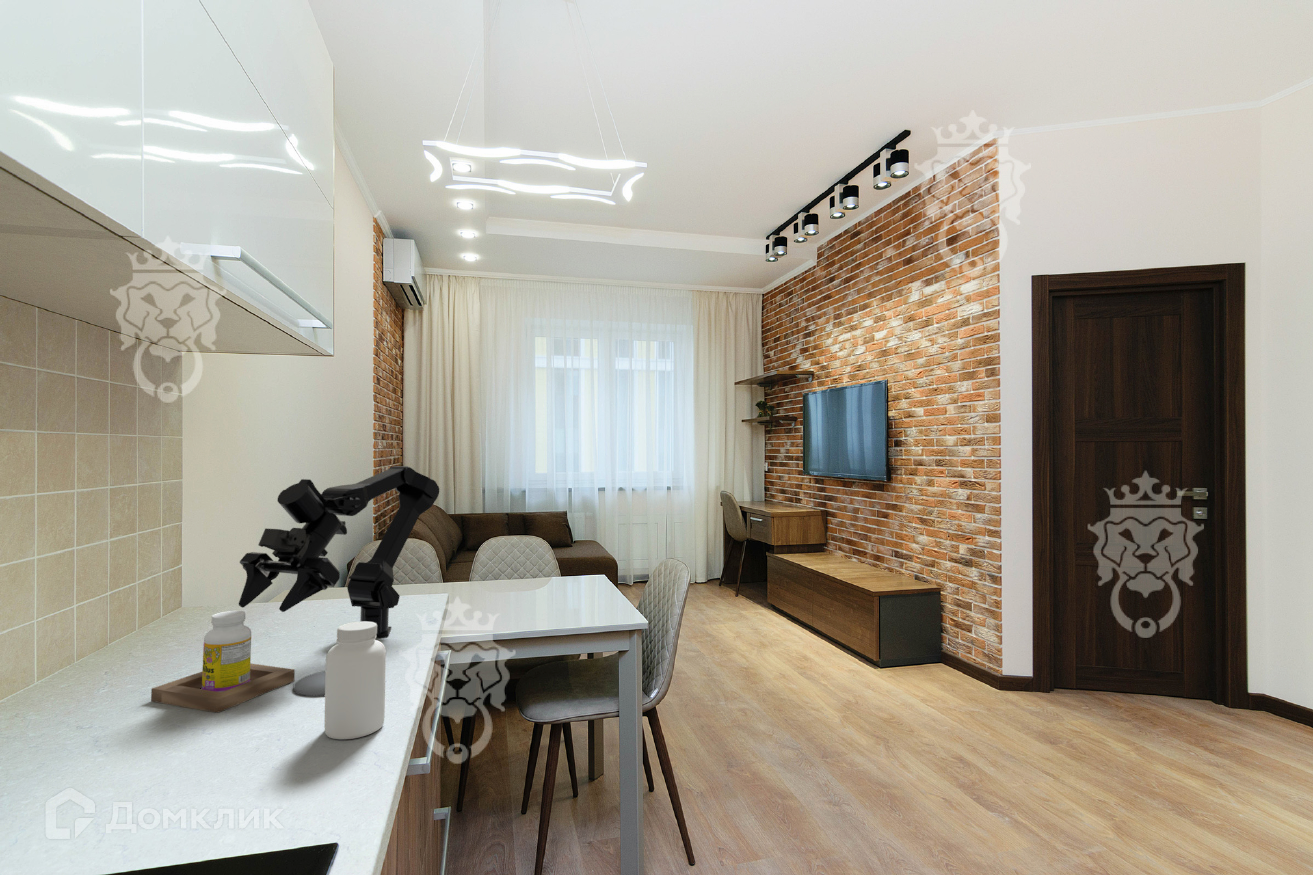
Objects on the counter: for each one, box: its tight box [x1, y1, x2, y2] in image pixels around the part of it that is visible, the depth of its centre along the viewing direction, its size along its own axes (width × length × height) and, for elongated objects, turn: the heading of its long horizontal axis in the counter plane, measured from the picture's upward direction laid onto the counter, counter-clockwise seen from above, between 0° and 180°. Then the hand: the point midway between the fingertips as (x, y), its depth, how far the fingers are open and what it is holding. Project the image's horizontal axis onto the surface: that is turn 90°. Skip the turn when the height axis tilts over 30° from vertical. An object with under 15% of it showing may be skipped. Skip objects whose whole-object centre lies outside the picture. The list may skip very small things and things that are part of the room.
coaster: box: [293, 670, 326, 697], centre depth 107 cm, size 11×11×1 cm
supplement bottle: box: [201, 610, 252, 692], centre depth 103 cm, size 7×7×13 cm
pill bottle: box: [323, 621, 387, 740], centre depth 90 cm, size 8×8×15 cm
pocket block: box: [150, 662, 296, 713], centre depth 103 cm, size 14×14×2 cm
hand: (260, 608), depth 109 cm, fingers open, 9 cm apart
